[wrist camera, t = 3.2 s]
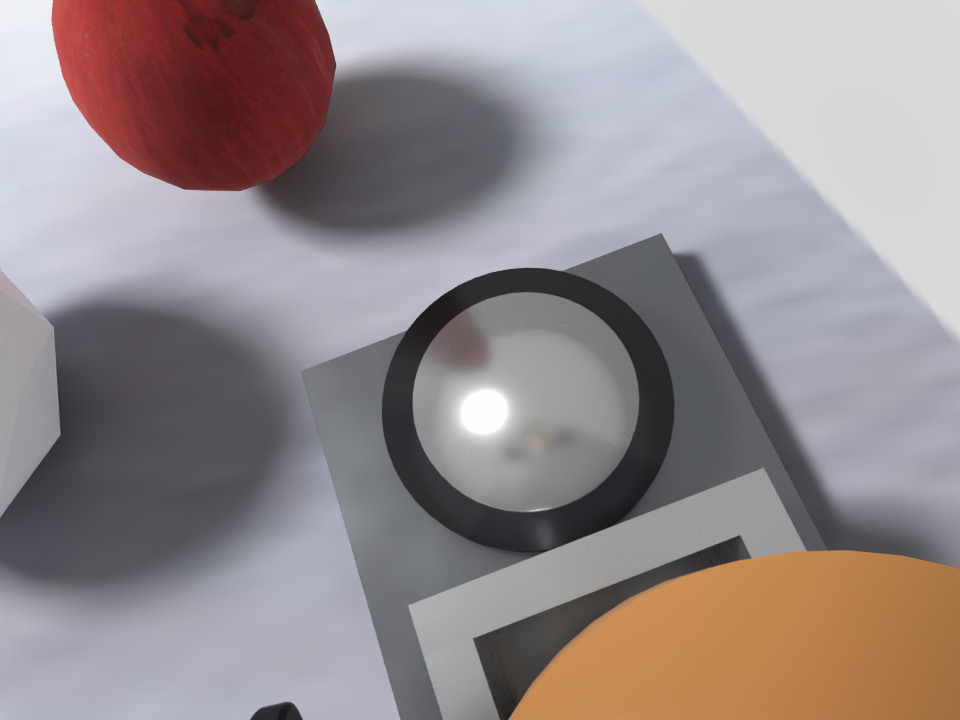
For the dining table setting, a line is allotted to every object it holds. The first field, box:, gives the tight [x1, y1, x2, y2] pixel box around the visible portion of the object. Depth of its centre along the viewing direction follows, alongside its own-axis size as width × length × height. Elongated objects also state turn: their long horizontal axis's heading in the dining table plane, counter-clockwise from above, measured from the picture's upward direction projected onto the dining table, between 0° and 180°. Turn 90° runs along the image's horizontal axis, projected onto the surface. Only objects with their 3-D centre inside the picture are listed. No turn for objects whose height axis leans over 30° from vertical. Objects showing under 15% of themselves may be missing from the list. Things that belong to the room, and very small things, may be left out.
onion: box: [52, 0, 336, 191], centre depth 16 cm, size 6×6×8 cm
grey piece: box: [301, 233, 828, 720], centre depth 13 cm, size 13×9×4 cm
